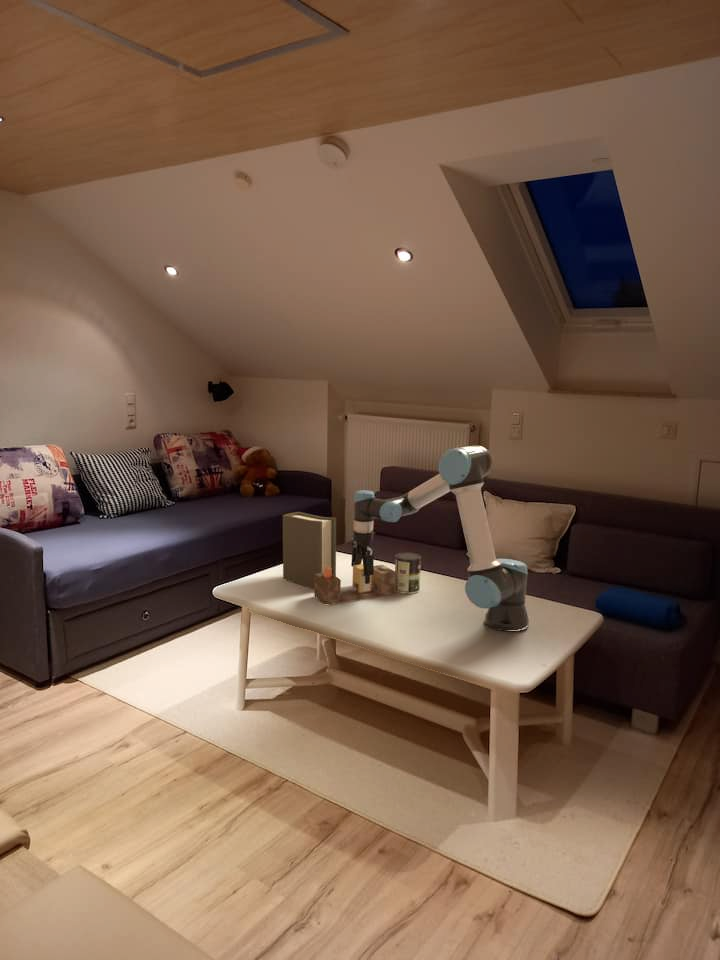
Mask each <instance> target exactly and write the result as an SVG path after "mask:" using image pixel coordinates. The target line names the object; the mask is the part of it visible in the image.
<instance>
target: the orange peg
mask: <svg viewBox="0 0 720 960" xmlns="http://www.w3.org/2000/svg"><path fill="white" fill-rule="evenodd" d="M329 578H332V568H331V567H324V579H329Z"/></svg>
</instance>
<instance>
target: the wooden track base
mask: <svg viewBox="0 0 720 960" xmlns="http://www.w3.org/2000/svg"><path fill="white" fill-rule="evenodd" d="M341 582H342V579H340V578H339V577H338V576H337V575H336V576H334V575H333V574H332V578H329V579H324V573H319V574H315V584H314V591H313V592H314V593H313V594H314V595H313V596H315V597H314V598H316V597H317V598H318V599H319V601H320V602H321V601H322V602H323V604H324V605H325V604H329V605H332V604H333V603H335V604H340V603H341V604H342V603H345V602H353V601H359V600H365V599H371V598H376V597H377V598H378V597H383V596H389V595H395V594H396V593H395V592H396V591H395V570H393V569H391V568H389V567H387V566H385V565H384V564H379V565H378V564H377V565H374V574H373V575H372V578H371V583H374V584H376V587H375V590H371V591H369V592H363V593H359V592H356V593H349V594H343V595H340V588H341V587H342V586H341V584H342V583H341ZM317 598H316V599H317ZM318 599H317V600H318ZM322 602H321V603H322ZM333 605H334V604H333Z"/></svg>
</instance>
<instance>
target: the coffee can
mask: <svg viewBox="0 0 720 960" xmlns="http://www.w3.org/2000/svg"><path fill="white" fill-rule="evenodd" d="M394 558H395V563H394V567H395V568H394V571H395V592H396V593H399V594H403V595H413V594H414V595H415V594H417V593H419V592H420V589H421V588H420V587H421V586H420V585H421V584H420V583H421V565H422V564H421V563H422V556H421V554H419V553H414V552H398V553H396V554H395V557H394Z"/></svg>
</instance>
